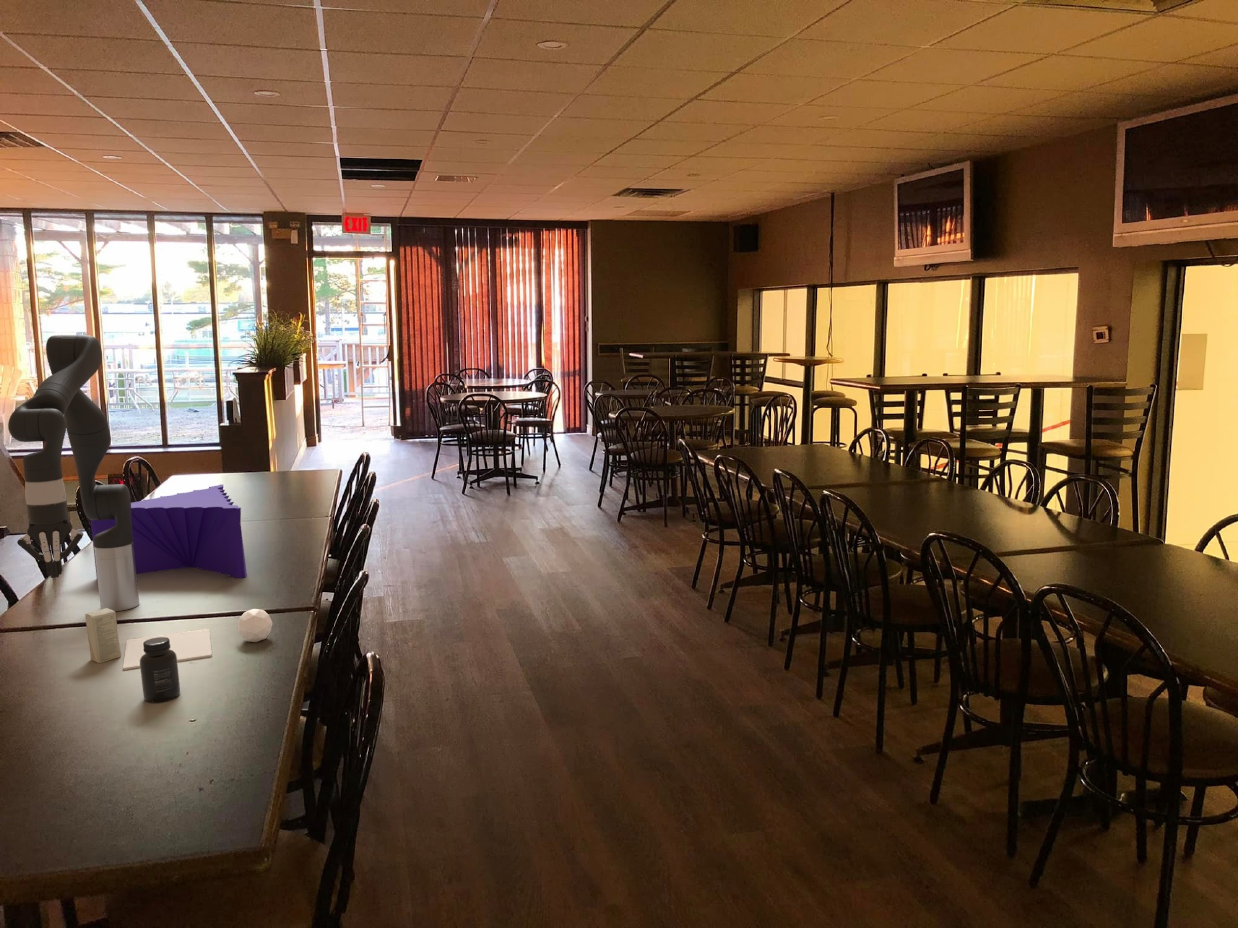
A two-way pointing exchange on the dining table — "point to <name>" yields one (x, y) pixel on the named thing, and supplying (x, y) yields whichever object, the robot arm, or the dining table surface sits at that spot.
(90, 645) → the box
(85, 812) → the dining table surface
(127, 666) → the mat
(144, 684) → the supplement bottle
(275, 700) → the dining table surface
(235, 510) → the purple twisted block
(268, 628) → the geometric ball
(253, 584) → the dining table surface
